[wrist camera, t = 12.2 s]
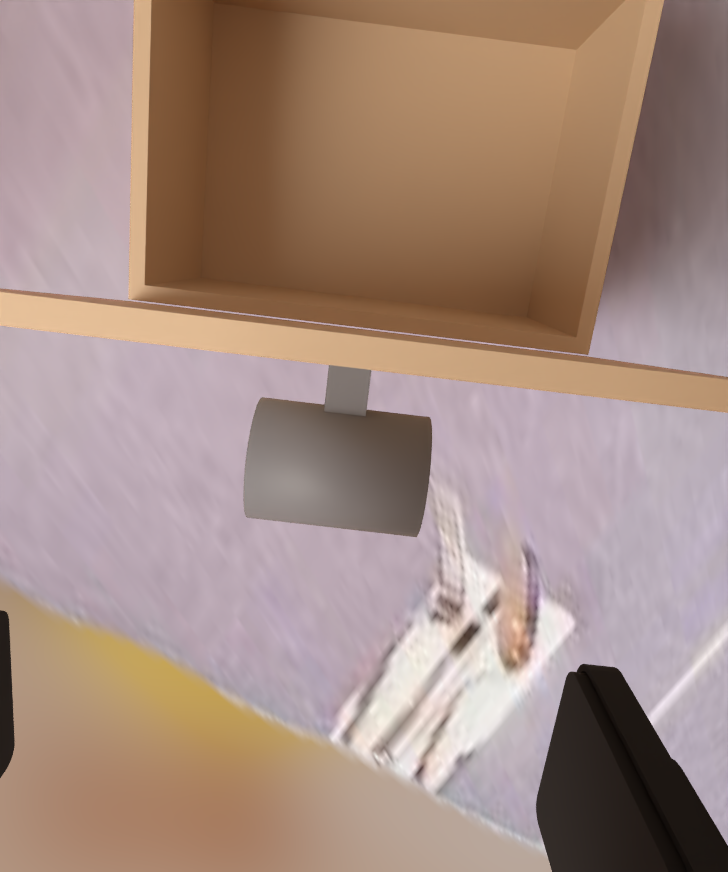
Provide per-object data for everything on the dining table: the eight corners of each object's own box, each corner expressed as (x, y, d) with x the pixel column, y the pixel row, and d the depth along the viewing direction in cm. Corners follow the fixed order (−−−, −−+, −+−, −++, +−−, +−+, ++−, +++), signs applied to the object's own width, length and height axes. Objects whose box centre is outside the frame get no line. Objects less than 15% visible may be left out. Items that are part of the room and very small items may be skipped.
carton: (205, -9, 40) (135, -117, 28) (587, 41, 40) (673, -45, 29) (192, 287, 45) (128, 299, 33) (533, 329, 45) (588, 354, 34)
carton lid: (-145, 274, 15) (-142, 506, 16) (836, 392, 16) (782, 612, 17) (128, 301, 33) (122, 411, 34) (587, 356, 34) (568, 464, 35)
